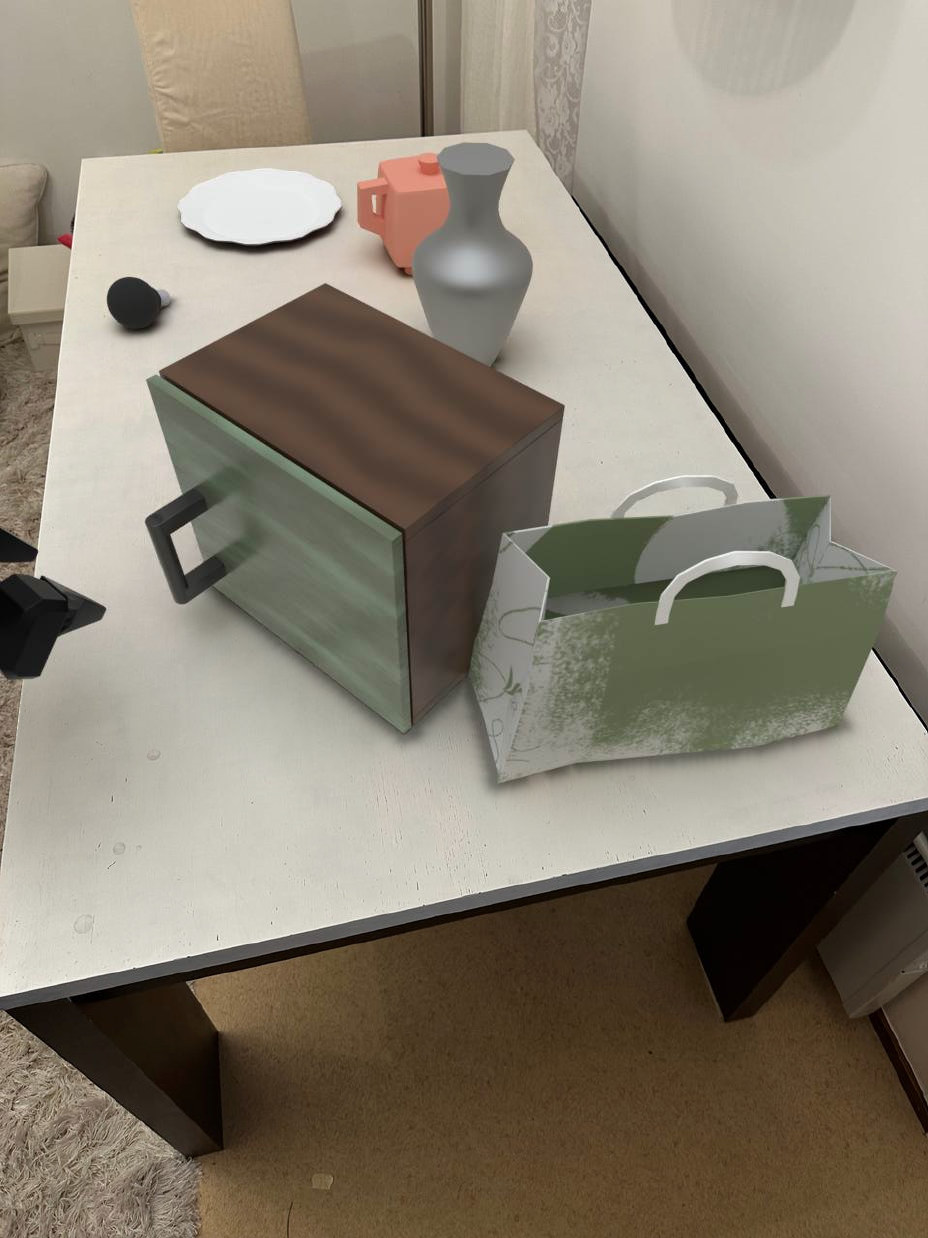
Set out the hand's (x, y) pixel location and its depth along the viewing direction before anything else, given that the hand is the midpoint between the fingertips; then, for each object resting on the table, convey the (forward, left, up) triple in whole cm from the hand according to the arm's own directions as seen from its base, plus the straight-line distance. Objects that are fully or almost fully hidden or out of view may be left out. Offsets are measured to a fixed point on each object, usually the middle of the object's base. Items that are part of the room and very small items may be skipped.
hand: (68, 583), depth 66 cm
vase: (+48, +38, -14) cm, 62 cm away
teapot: (+52, +65, -14) cm, 84 cm away
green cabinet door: (+14, -3, -13) cm, 20 cm away
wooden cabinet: (+25, +3, -13) cm, 29 cm away
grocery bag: (+45, -17, -14) cm, 50 cm away
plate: (+30, +85, -14) cm, 91 cm away
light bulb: (+9, +60, -14) cm, 62 cm away
